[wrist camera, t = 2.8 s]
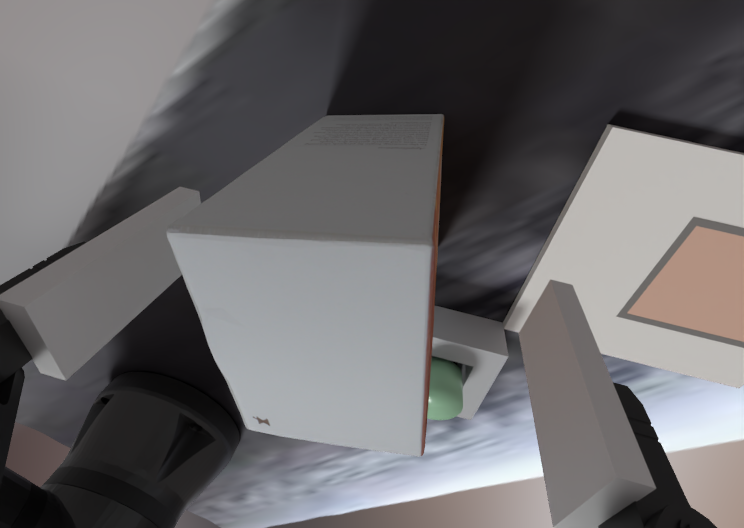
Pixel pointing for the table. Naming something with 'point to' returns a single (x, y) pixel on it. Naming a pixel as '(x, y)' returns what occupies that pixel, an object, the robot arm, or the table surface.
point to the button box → (470, 352)
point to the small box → (325, 281)
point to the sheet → (653, 254)
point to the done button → (445, 390)
